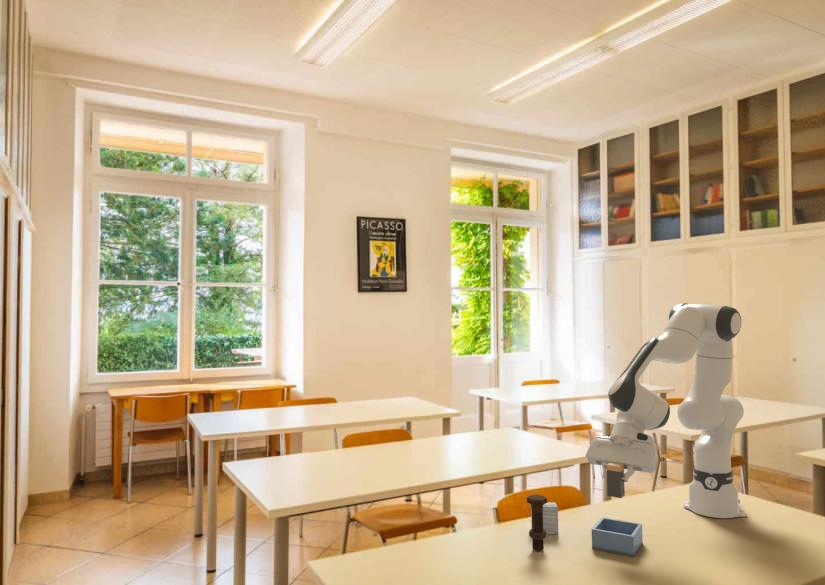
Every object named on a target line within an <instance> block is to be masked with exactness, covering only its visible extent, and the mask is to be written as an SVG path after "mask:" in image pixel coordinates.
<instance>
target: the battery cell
mask: <svg viewBox="0 0 825 585" xmlns="http://www.w3.org/2000/svg"><path fill="white" fill-rule="evenodd" d="M606 466H607V469H606V470H607V479H606V492H607V494H606V495H607V496H608V497H612V498H617V499H622V498H623V497H625V494H626V493H625V482H623V481H622V480H621V477H622V473H623V474H625V469H624V465H623V464H617V463H609V464H607V465H606Z"/></svg>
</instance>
